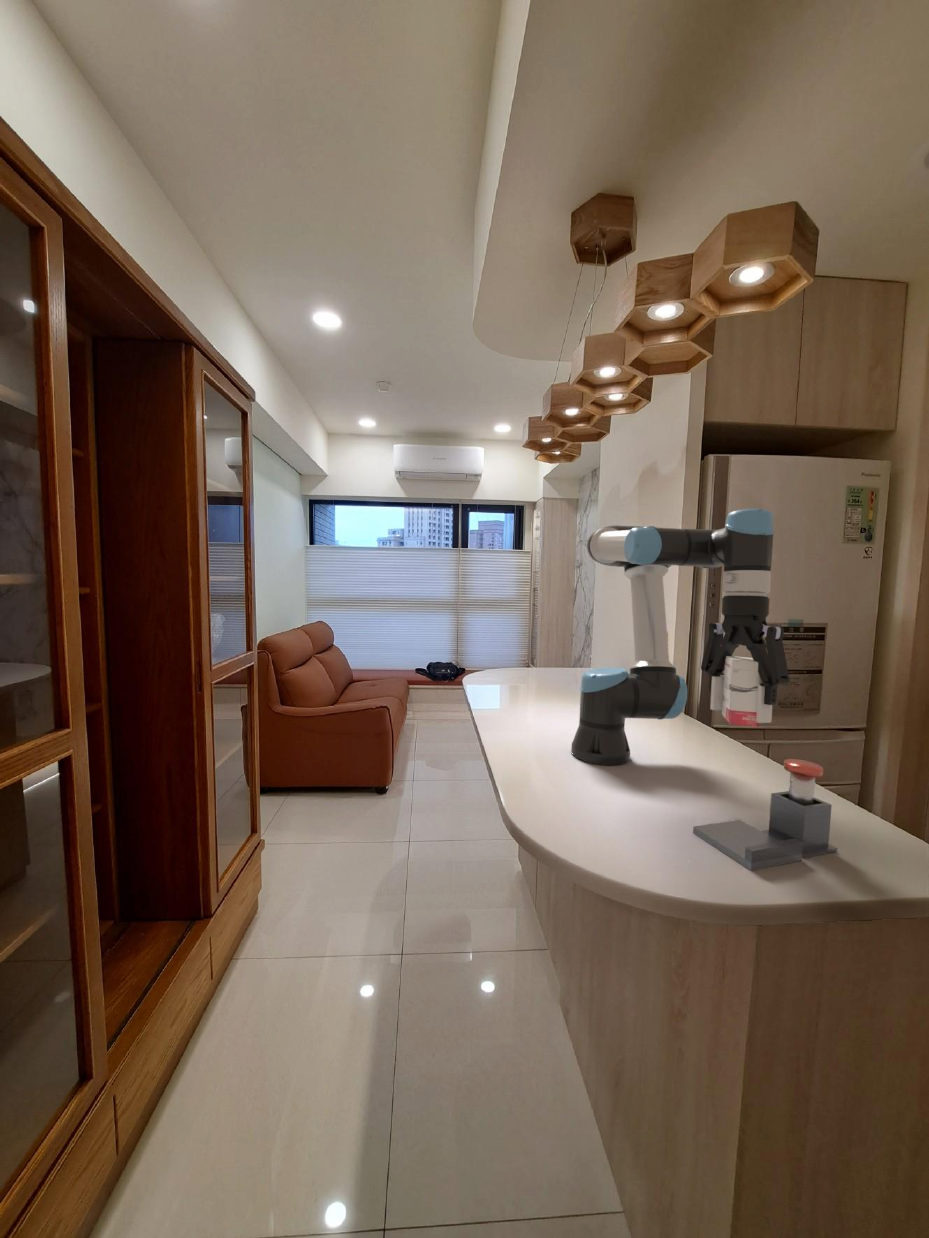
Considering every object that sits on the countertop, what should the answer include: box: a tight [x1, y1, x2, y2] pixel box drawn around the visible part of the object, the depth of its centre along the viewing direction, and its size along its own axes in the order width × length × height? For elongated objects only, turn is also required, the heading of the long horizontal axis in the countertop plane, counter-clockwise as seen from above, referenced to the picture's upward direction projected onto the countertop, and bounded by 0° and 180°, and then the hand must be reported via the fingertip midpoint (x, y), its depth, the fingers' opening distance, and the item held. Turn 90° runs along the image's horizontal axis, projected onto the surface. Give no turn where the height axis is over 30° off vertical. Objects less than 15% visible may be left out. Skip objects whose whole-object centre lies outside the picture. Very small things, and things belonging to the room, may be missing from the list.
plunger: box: [783, 758, 824, 806], centre depth 83 cm, size 6×6×9 cm
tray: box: [692, 819, 803, 871], centre depth 82 cm, size 12×11×3 cm
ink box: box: [721, 655, 761, 728], centre depth 87 cm, size 9×5×12 cm, turn 159°
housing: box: [761, 790, 838, 859], centre depth 83 cm, size 8×8×8 cm
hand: (739, 715), depth 88 cm, fingers closed on ink box, 9 cm apart
